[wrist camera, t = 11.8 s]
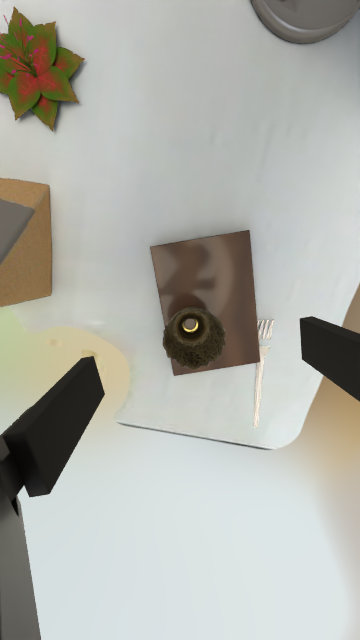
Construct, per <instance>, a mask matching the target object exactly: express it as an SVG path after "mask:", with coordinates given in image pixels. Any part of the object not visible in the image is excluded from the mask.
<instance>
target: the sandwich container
mask: <svg viewBox="0 0 360 640" xmlns="http://www.w3.org/2000/svg"><path fill="white" fill-rule="evenodd" d="M51 284H52V244H51V219H50V194H49V185H46V184H40V183H34V182H28V181H23V180H16V179H4V178H0V307H4V306H8V305H13V304H17V303H21V302H25V301H30V300H34V299H38V298H42V297H46V296H51Z"/></svg>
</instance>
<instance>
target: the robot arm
mask: <svg viewBox="0 0 360 640" xmlns="http://www.w3.org/2000/svg"><path fill="white" fill-rule="evenodd" d="M251 1H252V4H253V6H254V8H255V10H256V12H257V14H258V16H259V17H260V19H261V20H262V21H263V23H264V24H265V25H266V26H267V27H268V28H269V29H270V30H271V31H272V32H273V33H275V34H276V35H277V36H279V37H281V38H283V39H285V40H288V41H291V42H295V43H313V42H317V41H320V40H323V39H325V38H327V37H329V36H331V35H333V34H334V33H336V32H337V31H339V30H340V29H341V28H342V27H343V26H345V25H346V24H347V23H348V22H349V20H350V19H351V18H352V17H353V16H354V14H355V13H356V12H357V10H358V9H359V8H360V0H251ZM300 333H301V351H302V360H304V361H305V362H307V363H308V364H309V365H311V366H312V367H313V368H315V369H316V370H317V371H319V372H320V373H321V374H323V375H324V376H326V377H327V378H328V379H330V380H331V381H333V382H334V383H335V384H336V385H338V386H339V387H341V388H342V389H343V390H345V391H346V392H347V393H349V394H350V395H351V396H353V397H354V398H356V399H357V400H358V401H360V334H359V333H356V332H353V331H351V330H348V329H345V328H343V327H340V326H337V325H334V324H332V323H329V322H326V321H323V320H321V319H318V318H315V317H313V316H311V317H305V318H300ZM104 395H105V393H104V390H103V386H102V383H101V380H100V376H99V373H98V369H97V366H96V363H95V359H94V356H91V357H85V358H81V359H80V360H79V361H78V362H77V363H76V364H75V365H74V366H73V367H72V368H71V369H70V370H69V371H68V372H67V373H66V374H65V375H64V376H63V377H62V378H61V379H60V380H59V381H58V382H57V383H56V384H55V385H54V386H53V387H52V388H51V389H50V390H49V391H48V392H47V393H46V394H45V395H44V396H43V397H42V398H41V399H40V400H39V401H37V402H36V403H35V404H34V405H33V406H32V407H30V408H29V409H27V410H26V411H25V412H24V413H23V414H22V415H21V416H20V417H19V419H17V420H16V421H15V422H14V423H13V424H12V425H11V426H10V427H9V428H8V429H7V430H5V431H4V432H3V434H1V435H0V640H41V636H40V629H39V623H38V616H37V610H36V603H35V597H34V590H33V583H32V577H31V570H30V564H29V557H28V550H27V544H26V537H25V530H24V524H23V517H22V511H21V504H20V501H19V499H18V497H17V494H18V493H19V491H20V490H21V489H22V487H23V486H25V488H26V490H27V492H28V495H29V497H35V496H41V495H47V494H50V492H51V490H52V489H53V487H54V485H55V483H56V481H57V480H58V478H59V476H60V474H61V472H62V471H63V469H64V467H65V465H66V463H67V462H68V460H69V458H70V456H71V454H72V453H73V450H74V449H75V447H76V445H77V443H78V441H79V440H80V438H81V436H82V434H83V433H84V431H85V429H86V427H87V425H88V424H89V422H90V420H91V418H92V416H93V414H94V413H95V411H96V409H97V407H98V406H99V404H100V402H101V400H102V398H103V397H104Z"/></svg>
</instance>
